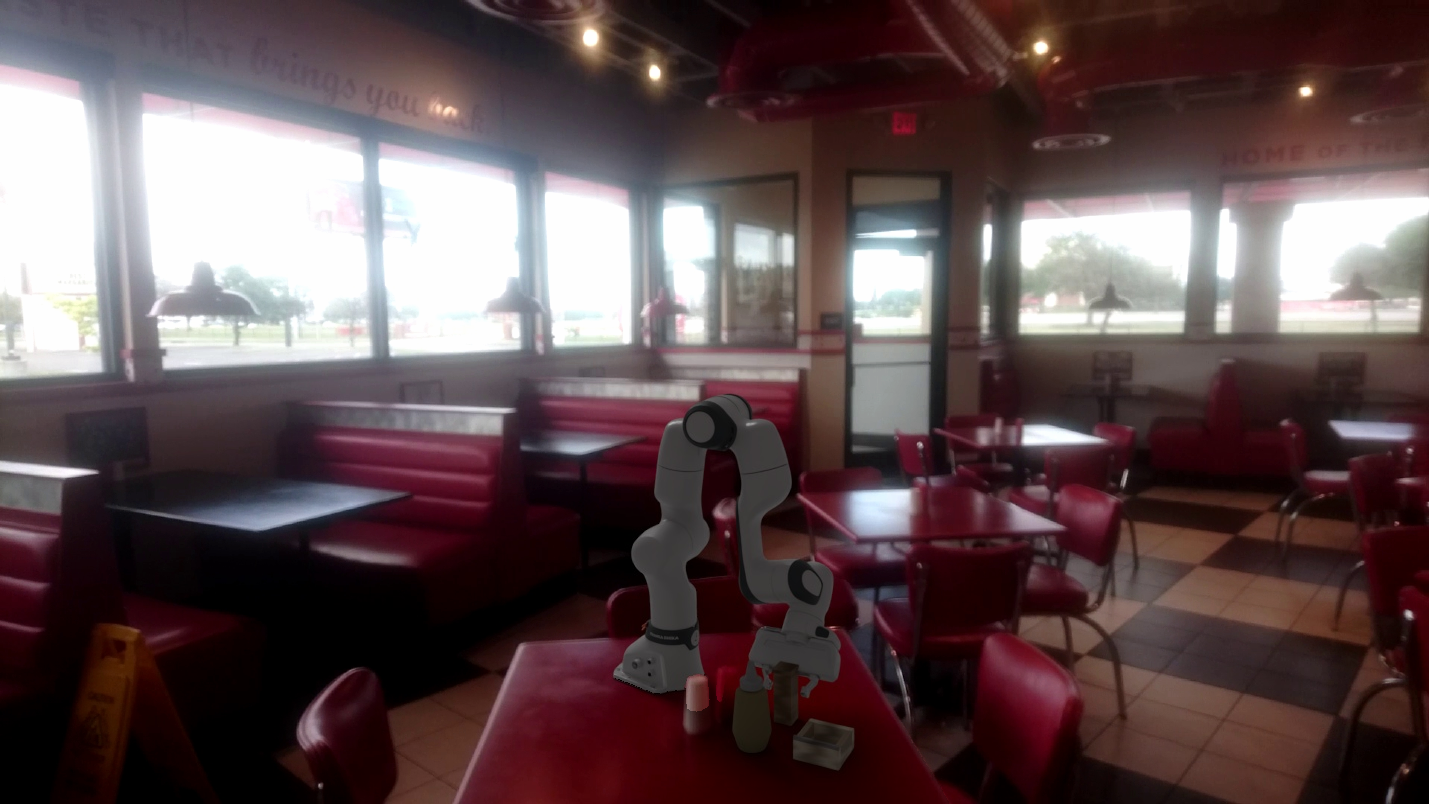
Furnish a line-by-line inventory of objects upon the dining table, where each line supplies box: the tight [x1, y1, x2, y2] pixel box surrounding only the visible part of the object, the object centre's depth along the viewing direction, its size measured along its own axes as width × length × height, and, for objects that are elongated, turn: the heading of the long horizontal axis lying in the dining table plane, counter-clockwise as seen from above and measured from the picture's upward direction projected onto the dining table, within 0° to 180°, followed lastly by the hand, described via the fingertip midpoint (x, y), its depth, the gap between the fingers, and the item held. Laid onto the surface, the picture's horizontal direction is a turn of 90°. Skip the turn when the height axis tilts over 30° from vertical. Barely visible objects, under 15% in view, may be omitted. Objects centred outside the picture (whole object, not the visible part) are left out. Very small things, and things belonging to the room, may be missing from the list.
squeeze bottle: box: [731, 660, 772, 754], centre depth 165 cm, size 8×8×18 cm
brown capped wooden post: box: [771, 661, 799, 727], centre depth 176 cm, size 4×4×12 cm
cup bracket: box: [792, 718, 855, 771], centre depth 163 cm, size 9×9×5 cm
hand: (785, 692), depth 175 cm, fingers open, 7 cm apart
